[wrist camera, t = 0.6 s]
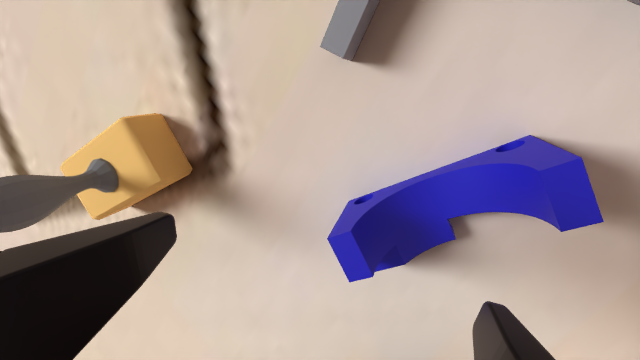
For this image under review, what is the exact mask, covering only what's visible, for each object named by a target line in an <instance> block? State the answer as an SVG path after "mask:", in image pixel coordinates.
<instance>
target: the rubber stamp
mask: <svg viewBox="0 0 640 360" xmlns="http://www.w3.org/2000/svg"><path fill="white" fill-rule="evenodd" d="M60 169H61V171H62V172H63V174H64V175H65V176H42V175H14V176H6V177H1V178H0V233H2V232H12V231H16V230H20V229H23V228H26V227H29V226H31V225H33V224H35V223H37V222H39V221H41V220H42V219H44V218H45V217H47V216H48V215H50V214H51V213H52V212H54V211H55V210H56V209H57V208H59V207H60V206H61V205H62V204H64V203H65V202H66V201H67V200H69V199H70V198H72V197H73V196H75V195H76V194H77V196H78V197H79V199H80V200H81V202H82V203H83V205H84V207H85V208H86V210H87V211H88V213H89V214H90V216H91V217H92V219H97V220H100V219H102V218H105V217H107V216H109V215H112V214H114V213H116V212H119V211H121V210H123V209H126V208H128V207H130V206H132V205H134V204H135V203H137V202H139V201H141V200H143V199H145V198H147V197H148V196H150V195H152V194H154V193H156V192H158V191H160V190H161V189H163V188H165V187H167V186H169V185H171V184H173V183H174V182H176V181H178V180H180V179H182V178H184V177H186V176H187V175H189V174H190V173H191V171H192V167H191V165H190V163H189V161H188V160H187V158H186V156H185V154H184V153H183V151H182V149H181V147H180V146H179V144H178V142H177V140H176V139H175V137H174V135H173V133H172V131H171V130H170V128H169V126H168V124H167V123H166V121H165V119H164V117H163V116H162V115H161V114H156V113H154V114H145V115H136V116H128V117H122V118H120V119H119V120H118V121H116V122H115V123H114V124H112V125H111V126H110V127H108V128H107V129H106V130H105V131H103V132H102V133H101V134H99V135H98V136H97V137H95V138H94V139H93V140H92V141H90V142H89V143H88V144H86V145H85V146H84V147H82V148H81V149H80V150H78V151H77V152H76V153H75V154H73V155H72V156H71V157H69V158H68V159H67V160H65V161H64V162H63V163H62V165H61V167H60Z"/></svg>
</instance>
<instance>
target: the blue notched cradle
mask: <svg viewBox="0 0 640 360" xmlns="http://www.w3.org/2000/svg"><path fill="white" fill-rule="evenodd" d="M484 212H510V213H519V214H524V215H529V216H533V217H536V218H539V219H542V220H544V221H546V222H548V223H550V224H552V225H553V226H555V227H556V228H557V229H558V230H560V231H561V232H563V231H567V230H571V229H576V228H580V227H584V226H588V225H592V224H597V223H601V222H603V219H602V216H601V213H600V210H599V207H598V204H597V201H596V198H595V195H594V192H593V190H592V187H591V184H590V181H589V178H588V175H587V172H586V169H585V166H584V163H583V160H582V158H581V157H579V156H577V155H575V154H572V153H570V152H568V151H566V150H563V149H561V148H559V147H556V146H554V145H552V144H550V143H547V142H545V141H543V140H540V139H538V138H536V137H534V136H531V135H529V136H526V137H523V138H521V139H518V140H515V141H512V142H510V143H507V144H504V145H501V146H499V147H496V148H493V149H490V150H488V151H485V152H482V153H479V154H477V155H474V156H471V157H468V158H466V159H463V160H460V161H458V162H455V163H452V164H449V165H447V166H444V167H441V168H438V169H436V170H433V171H430V172H427V173H425V174H422V175H419V176H416V177H414V178H411V179H408V180H405V181H403V182H400V183H397V184H394V185H392V186H389V187H386V188H384V189H381V190H378V191H375V192H373V193H370V194H367V195H364V196H362V197H359V198H356V199H353V200H351V201H349V202H348V204H347V205H346V207H345V209H344V210H343V212H342V214H341V216H340V217H339V219H338V221H337V223H336V224H335V226H334V228H333V229H332V231H331V233H330V235H329V236H328V238H327V239H328V241H329V243H330V245H331V247H332V249H333V251H334V253H335V255H336V257H337V259H338V261H339V263H340V264H341V266H342V268H343V270H344V272H345V274H346V276H347V278H348V280H349V282H353V281H357V280H361V279H366V278H370V277H373V275H374V272H376V271H380V270H384V269H388V268H393V267H397V266H401V265H405V264H406V263H407V262H409V261H410V260H411V259H413V258H414V257H416V256H417V255H419V254H421V253H422V252H424V251H426V250H428V249H430V248H432V247H435V246H437V245H440V244H442V243H445V242H448V241H451V240H455V235H454V231H453V228H452V226H451V224H450V221H449V219H450V218H454V217H458V216H463V215H468V214H475V213H484Z"/></svg>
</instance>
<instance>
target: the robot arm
mask: <svg viewBox="0 0 640 360" xmlns="http://www.w3.org/2000/svg"><path fill="white" fill-rule="evenodd" d="M176 238H177V234H176V227H175V219H174V217H173V215H171V214H168V213H164V212H156V213H152V214H148V215H144V216H140V217H136V218H132V219H127V220H123V221H119V222H115V223H111V224H107V225H103V226H99V227H95V228H91V229H87V230H83V231H79V232H75V233H71V234H67V235H62V236H58V237H54V238H50V239H46V240H42V241H38V242H34V243H30V244H26V245H22V246H18V247H14V248H10V249H6V250H4V251H0V360H73V359H74V358H75V357H76V356H77V355H78V354H79V352H80V351H81V350H82V349H83V348H84V347H85V346H86V345H87V344H88V343H89V342H90V341H91V340H92V338H93V337H94V336H95V335H96V334H97V333H98V332H99V331H100V330H101V329H102V328H103V327H104V326H105V325H106V323H107V322H108V321H109V320H110V319H111V318H112V317H113V316H114V315H115V314H116V313H117V312H118V311H119V310H120V308H121V307H122V306H123V305H124V304H125V303H126V302H127V301H128V300H129V299H130V298H131V297H132V296H133V294H134V293H135V292H136V291H137V290H138V289H139V288H140V287H141V286H142V285H143V283H144V282H145V281H146V280H147V278H148V277H149V276H150V275H151V273H152V272H153V271H154V269H155V268H156V267H157V266H158V264H159V263H160V262H161V260H162V259H163V258H164V257H165V255H166V254H167V253H168V251H169V250H170V249H171V248H172V246H173V245H174V244H175V242H176ZM473 347H474V360H555V359H554V357H553V356H552V355H551V354H550V353H549V352H548V351H547V350H546V349H545V348H544V347H543V346H542V345H541V344H540V343H539V342H538V340H537V339H536V338H535V337H534V336H533V335H532V334H531V333H530V332H529V331H528V330H527V329H526V328H525V327H524V326H523V324H522V323H521V322H520V321H519V320H518V319H517V318H516V317H515V316H514V315H513V314H512V313H511V312H510V311H509V310H508V309H507V308H506V307H505V306H503V305H501V304H497V303H493V302H490V301H487V302H485V303H484V304H483V306H482V308H481V310H480V312H479V314H478V316H477V318H476V320H475V322H474V325H473Z"/></svg>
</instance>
